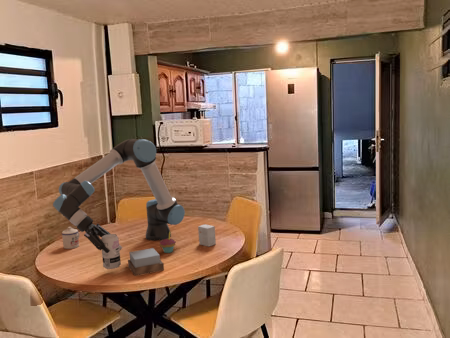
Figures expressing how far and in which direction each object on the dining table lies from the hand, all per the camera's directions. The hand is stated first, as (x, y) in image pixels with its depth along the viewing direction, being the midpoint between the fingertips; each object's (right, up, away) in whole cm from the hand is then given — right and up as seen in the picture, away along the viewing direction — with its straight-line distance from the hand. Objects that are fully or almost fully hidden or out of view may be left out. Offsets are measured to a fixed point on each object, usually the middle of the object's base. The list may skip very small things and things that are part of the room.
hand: (117, 252), depth 210 cm
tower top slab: (+12, -5, +5) cm, 14 cm away
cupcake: (+20, -5, +29) cm, 35 cm away
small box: (+41, -3, +38) cm, 56 cm away
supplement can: (-3, -7, +1) cm, 8 cm away
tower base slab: (+12, -9, +5) cm, 16 cm away
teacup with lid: (-37, -5, +46) cm, 60 cm away
